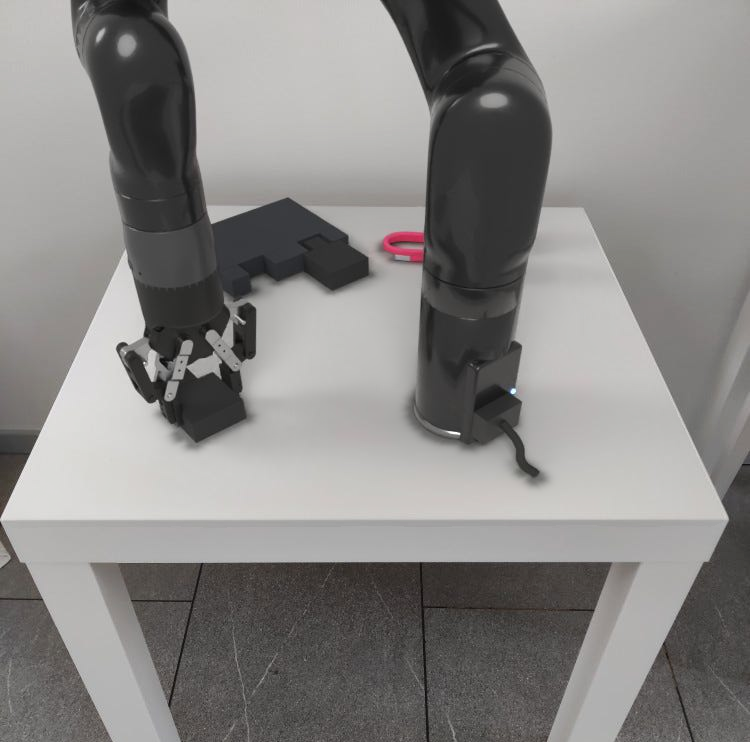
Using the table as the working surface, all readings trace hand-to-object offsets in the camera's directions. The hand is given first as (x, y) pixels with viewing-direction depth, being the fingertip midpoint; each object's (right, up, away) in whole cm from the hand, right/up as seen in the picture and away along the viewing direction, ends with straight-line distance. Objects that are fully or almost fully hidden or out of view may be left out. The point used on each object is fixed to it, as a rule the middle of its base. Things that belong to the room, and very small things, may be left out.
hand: (204, 408), depth 79 cm
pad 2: (-1, 0, +1) cm, 1 cm away
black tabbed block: (+12, +21, +20) cm, 31 cm away
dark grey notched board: (+3, +24, +23) cm, 33 cm away
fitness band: (+23, +24, +24) cm, 41 cm away
